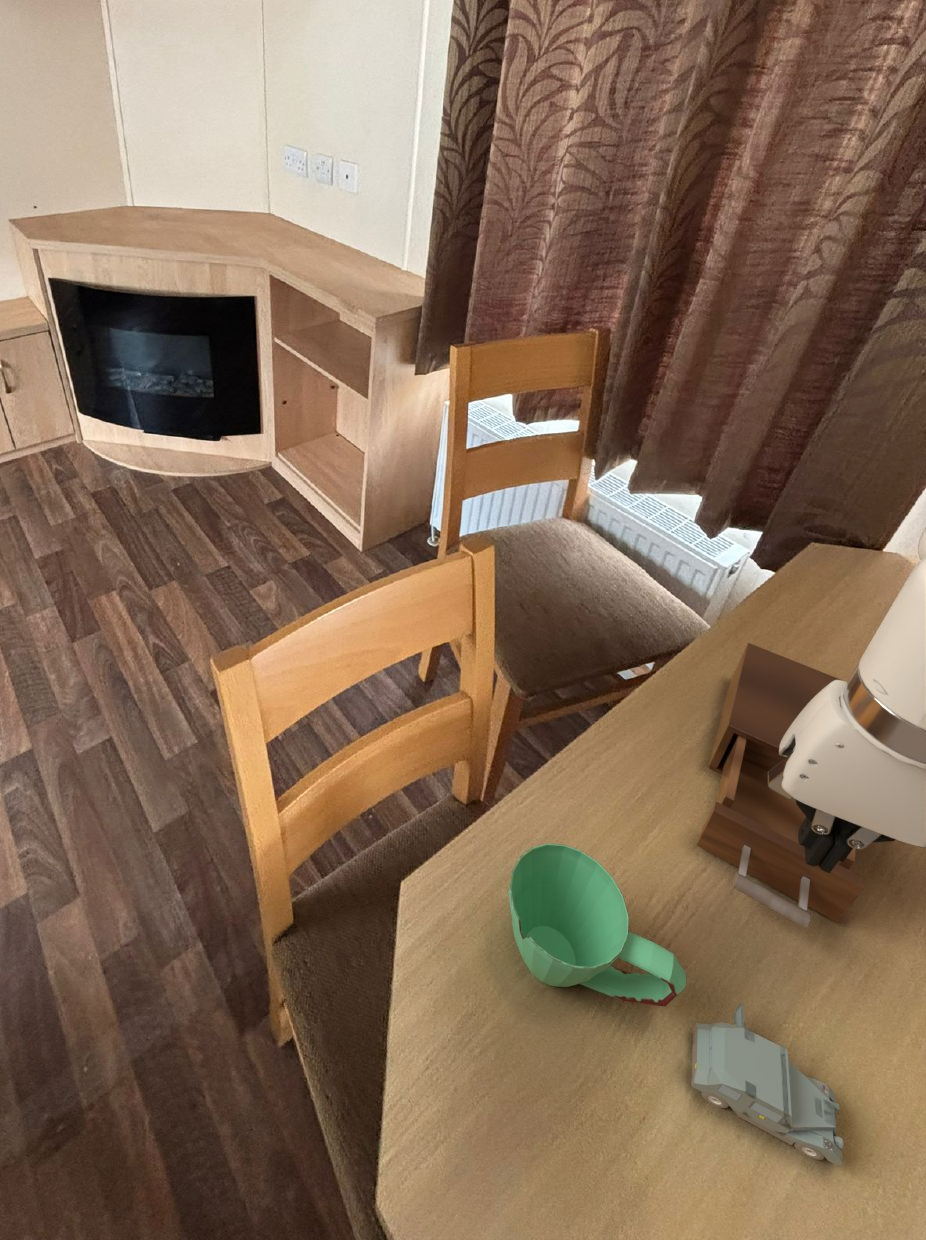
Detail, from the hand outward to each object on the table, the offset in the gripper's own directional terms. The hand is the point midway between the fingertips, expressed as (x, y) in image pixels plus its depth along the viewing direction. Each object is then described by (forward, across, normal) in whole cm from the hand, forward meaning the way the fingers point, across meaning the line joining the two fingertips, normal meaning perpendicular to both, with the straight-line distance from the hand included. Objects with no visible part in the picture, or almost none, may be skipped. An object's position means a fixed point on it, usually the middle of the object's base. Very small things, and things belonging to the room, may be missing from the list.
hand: (815, 852), depth 57 cm
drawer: (+14, -1, -10) cm, 17 cm away
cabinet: (+15, -3, -23) cm, 28 cm away
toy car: (+15, 0, +12) cm, 19 cm away
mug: (+15, +15, +11) cm, 24 cm away
